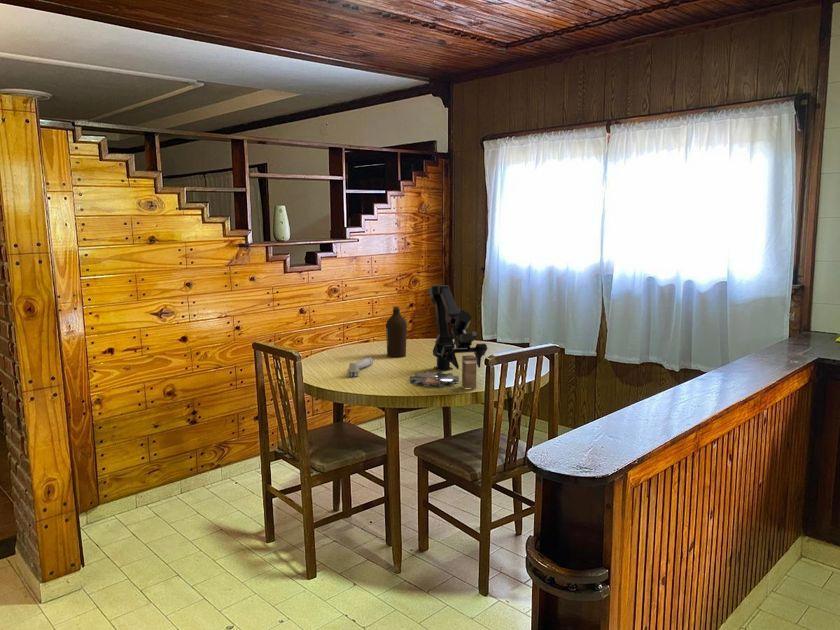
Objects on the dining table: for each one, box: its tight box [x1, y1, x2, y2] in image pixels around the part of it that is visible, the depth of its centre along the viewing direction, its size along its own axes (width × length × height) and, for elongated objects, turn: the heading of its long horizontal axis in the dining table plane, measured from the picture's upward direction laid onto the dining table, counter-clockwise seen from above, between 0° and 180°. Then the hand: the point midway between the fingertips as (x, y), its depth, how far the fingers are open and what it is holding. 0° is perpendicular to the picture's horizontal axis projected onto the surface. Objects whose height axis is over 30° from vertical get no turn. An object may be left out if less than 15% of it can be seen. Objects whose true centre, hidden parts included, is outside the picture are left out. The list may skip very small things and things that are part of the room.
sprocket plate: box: [408, 371, 460, 389], centre depth 264 cm, size 21×21×2 cm
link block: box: [461, 354, 478, 389], centre depth 253 cm, size 5×5×13 cm
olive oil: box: [385, 305, 408, 359], centre depth 311 cm, size 11×11×25 cm
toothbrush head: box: [346, 357, 374, 378], centre depth 282 cm, size 5×7×25 cm
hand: (468, 367), depth 253 cm, fingers open, 9 cm apart
